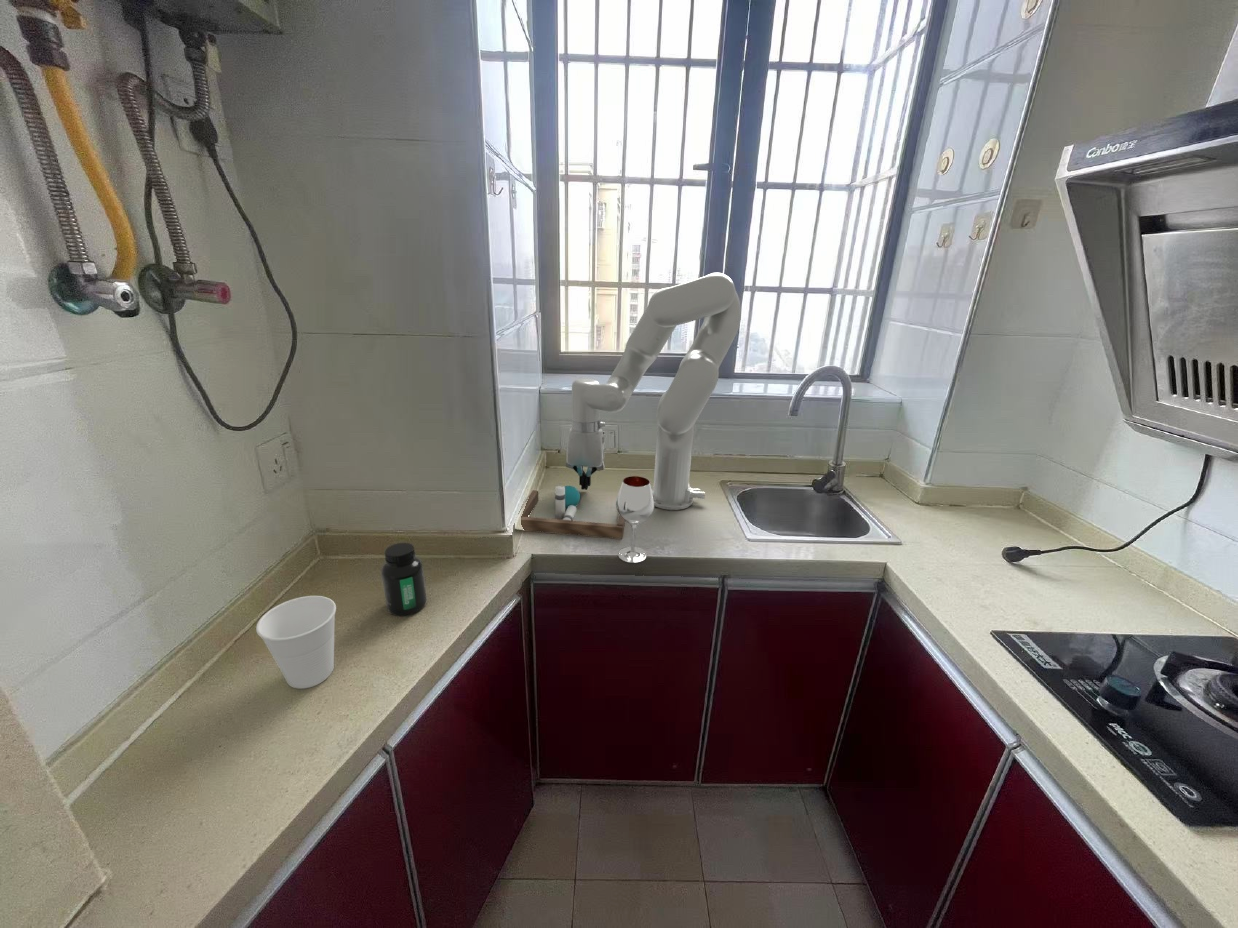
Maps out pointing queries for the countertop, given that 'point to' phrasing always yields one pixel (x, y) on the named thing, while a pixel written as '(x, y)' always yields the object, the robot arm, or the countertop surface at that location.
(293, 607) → the cup
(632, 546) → the wineglass
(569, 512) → the pin
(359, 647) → the countertop surface
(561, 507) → the pin
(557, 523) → the wooden u-shaped frame
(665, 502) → the robot arm
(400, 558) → the supplement bottle
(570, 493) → the ball
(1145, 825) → the countertop surface
